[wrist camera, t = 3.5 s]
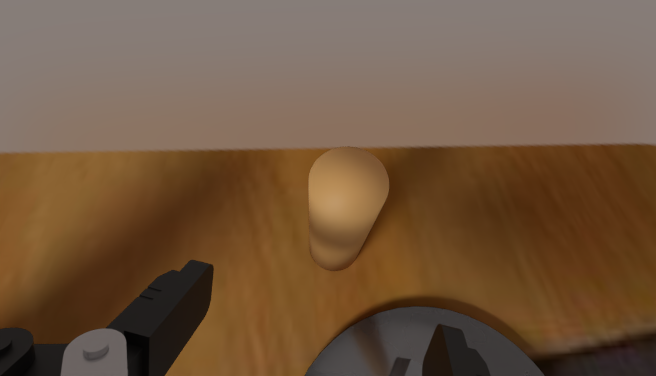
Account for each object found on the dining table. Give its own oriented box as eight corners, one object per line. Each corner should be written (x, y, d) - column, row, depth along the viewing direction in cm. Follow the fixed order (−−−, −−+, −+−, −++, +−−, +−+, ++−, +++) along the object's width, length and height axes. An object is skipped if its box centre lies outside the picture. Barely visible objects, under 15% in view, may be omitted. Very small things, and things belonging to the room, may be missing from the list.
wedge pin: (300, 255, 23) (293, 195, 14) (324, 214, 24) (332, 134, 15) (344, 280, 22) (367, 235, 13) (366, 237, 23) (402, 168, 14)
